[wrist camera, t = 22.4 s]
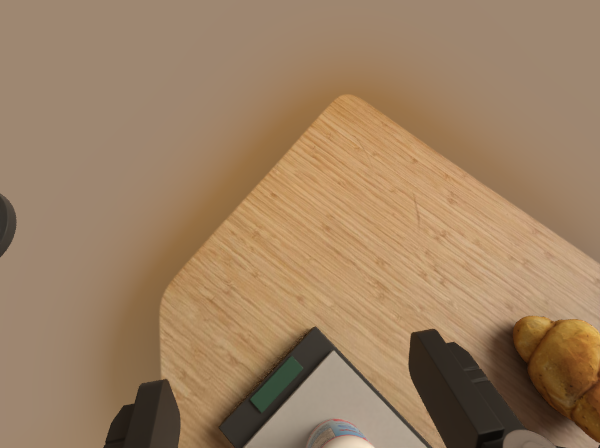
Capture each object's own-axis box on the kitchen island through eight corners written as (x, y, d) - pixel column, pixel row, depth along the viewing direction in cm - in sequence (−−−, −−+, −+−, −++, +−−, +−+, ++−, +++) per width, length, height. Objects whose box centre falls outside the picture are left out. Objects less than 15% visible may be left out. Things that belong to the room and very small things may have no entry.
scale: (337, 561, 35) (342, 580, 33) (221, 423, 39) (216, 430, 36) (426, 444, 39) (438, 452, 36) (314, 326, 42) (316, 325, 39)
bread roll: (487, 337, 43) (532, 336, 35) (545, 293, 45) (599, 283, 37) (564, 441, 40) (631, 465, 32) (622, 389, 42) (699, 399, 34)
